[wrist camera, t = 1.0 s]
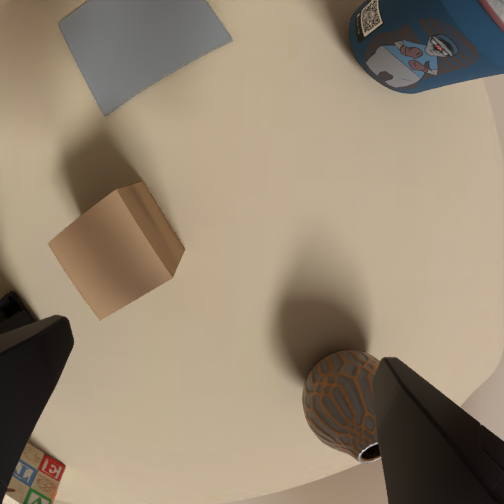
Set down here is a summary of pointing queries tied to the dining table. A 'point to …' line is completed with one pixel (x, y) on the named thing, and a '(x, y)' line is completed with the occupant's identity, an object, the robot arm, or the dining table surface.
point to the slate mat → (138, 43)
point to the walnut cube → (118, 249)
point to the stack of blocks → (34, 478)
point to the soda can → (428, 41)
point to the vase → (343, 403)
